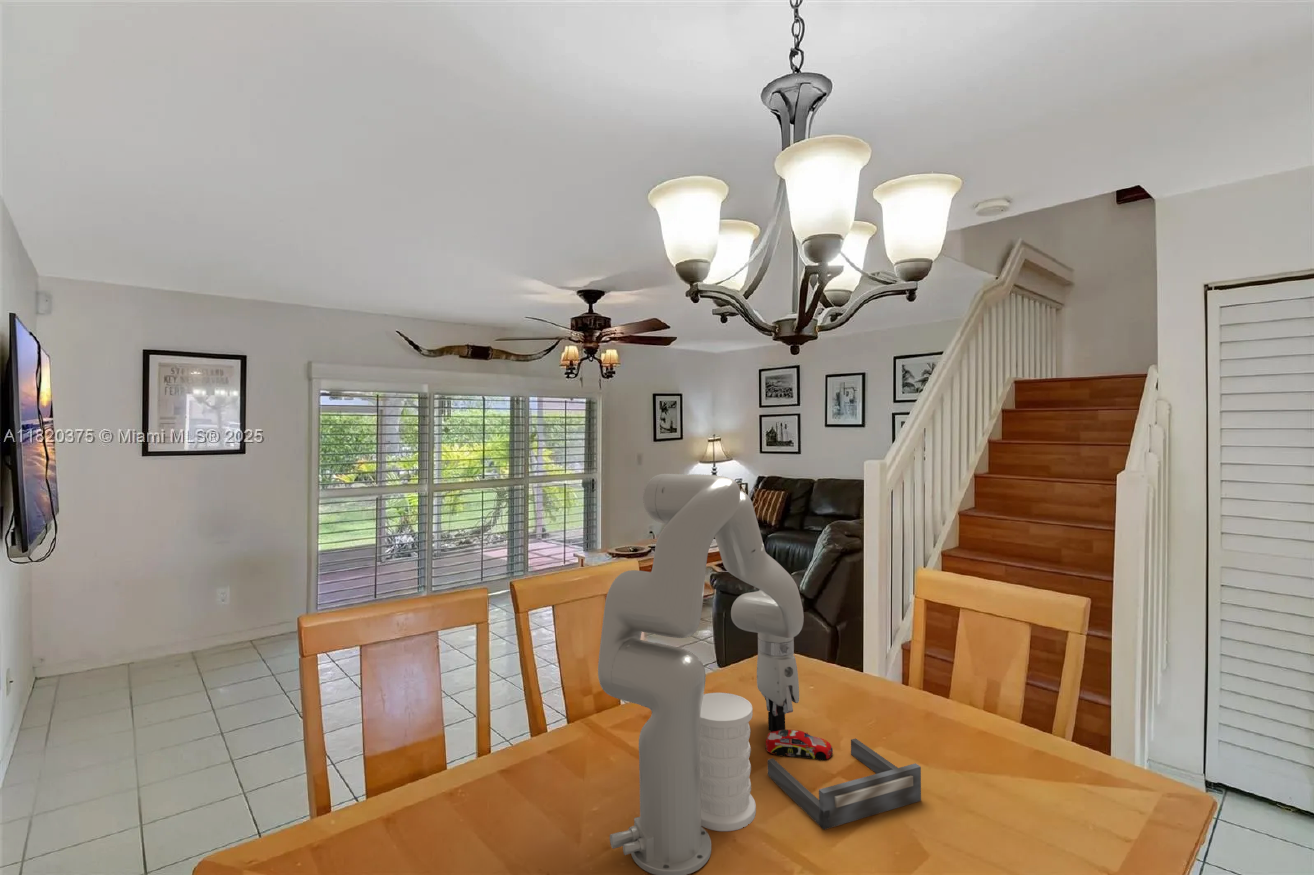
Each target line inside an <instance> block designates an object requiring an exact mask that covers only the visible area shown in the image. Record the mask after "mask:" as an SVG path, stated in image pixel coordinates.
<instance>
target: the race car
mask: <svg viewBox="0 0 1314 875" xmlns="http://www.w3.org/2000/svg"><path fill="white" fill-rule="evenodd" d="M765 750H766V751H767V752H769V753H770V754H773V755H776V756H777V757H785V756H786V757H791V758H792V757H793V758H795V757H796V758H802V759H803V758H804V759H813V760H814V759H816V760H817V761H825V760H828V759H830V758H831V757H832V756H833V753H834V749H833V746H832V744H831V743H830V742H829V741H828V740H826V739H824V738H822V737H818V736H814V735H810V734H809V733H808V731H806V732H805V731H802V730H798V729H785V730H778V731H773V732H770V731H769V732H768V734H767V736H766V739H765Z"/></svg>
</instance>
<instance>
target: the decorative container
mask: <svg viewBox="0 0 1314 875" xmlns="http://www.w3.org/2000/svg"><path fill="white" fill-rule="evenodd" d="M752 719H753V705H752V703H751V702H750V701H749V700H748V699H746V698H745V697H743V696H741V695H739V694H738V695H737V694H733V693H730V692H727V693H726V692H709V693H708V692H707V693H704V694H703V700H702V707H701V716H700V785H701V827H702V828H704V829H705V828H706V829H707V830H710V831H717V832H731V831H737V830H741V829H744V828H746V827H747V826H749V825H750V824H751V823H752V822H753V821H754V820H755V819H756V813H757V805H756V800H755V799H754V797H753V795H752V794H751V792H752V783H751V778H750V775H751V771H752V765H751V762H750V759H749V758H750V756H751V752H752V748H751V745H750V742H749V739H750V737H751V733H752V732H751V727H750V723H749V722H750V721H751V720H752ZM748 824H749V825H748ZM743 827H744V828H743Z"/></svg>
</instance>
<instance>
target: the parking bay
mask: <svg viewBox="0 0 1314 875" xmlns="http://www.w3.org/2000/svg"><path fill="white" fill-rule="evenodd" d="M850 755H851V756H853V757H854V758H855V759H856V760H858V761H859V762H861V763H862V764H863V765H864V766H866V767H867V768H869V769H870V770H871V771H873V772H874V773H875V774H871V775H867V776H864V777H861V778H855V779H853V780H848V781H846V782H841V783H838V784H834V785H830V786H826V787H822V788H819V789H818V798H817V797H816V796H815V795H814V794H813V793H812V792H811V791H810V790H809V789H808V788H806V787H805V786H804V785H803V784H802V783H801V782H800V781H798V779H796V778H795V777H794V776H793V775H792V774H791V773H790V772H789V771H788V770H786V768H784V767H783V766H782V765H781V764H780V763H779V762H778V761H777V760H776V759H775V758H769V759H767V776H768V777H769V778H770V779H771V781H773V782H774V783H775V784H776V785H777V786H778V787H779V788H780V789H781V790H782V792H784V793H785V794H786V795H787V796H789V798H791V800H793V802H794V803H795V804H797V806H798V807H800V809H802V810H803V811H804V812H805V813H806V814H807V815H808V816H809V817H810V818H811V819H812V821H814V822H815V823H816V824H817V825H818V826H819V827H821V829H822V830H828V829H832V828H834V827H838V826H841V825H845V824H848V823H852V822H855V821H858V820H861V819H864V818H865V819H866V818H867V817H872V816H875V815H878V814H882V813H885V812H887V811H891V810H895V809H898V808H901V807H905V806H908V805H911V804H915V803H919V802H921V801H922V773H921V772H922V767H921V765H919V764H918V763H915V762H914V763H912V764H908V765H905V766H901V767H898V766H896V765H894V763H892V762H891V761H889V760H888V759H886V758H885V757H883V756H881V754H879V753H877V752H876V751H874V749H872V748H870V747H869V746H868V745H866V744H864V743H863V742H862V741H860V740H859V739H857V738H853V739H852V738H851V739H850Z"/></svg>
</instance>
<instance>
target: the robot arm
mask: <svg viewBox="0 0 1314 875" xmlns="http://www.w3.org/2000/svg"><path fill="white" fill-rule="evenodd" d="M642 493H643V494H642V502H643V507H644V510H645V512H646V513H647V515H648V516H649V517H650V518H651V519H653V521H656V522H658V523H661V524H664V527H663V528H662V530H661V532H659V535H658V538H657V539H656V543H655V549H654V555H653V563H652V568H651V571H645V570H638V569H637V570H635V569H633V570H632V569H631V570H626V571H624V572H621V573H620V574H619V575H617V577H616V578H615V579H614V580H613V581H612V583H611V585H610V586H609V588H608V591H607V594H606V598H605V603H604V608H603V615H602V616H603V618H602V626H601V635H600V644H599V652H598V662H597V676H598V682H599V685H600V687H601V689H602V690H603V692H604V693H606V694H607V695H608V696H610V697H613V698H615V699H618V700H622V701H624V702H630V703H631V704H636V705H638V706H639V705H640V706H642V707H643V708H647V709H649V710H650V711H651V716H650V717H649V718H648V720H647V721H646V722H645V724H644V725H643V726H642V727H641V730H640V733H639V738H638V756H639V758H638V760H639V761H638V763H639V764H638V765H639V767H638V770H639V816H637V817H634V818H633V821H634V822H633V824H634V825H632V826H629V827H628V829H627V830H624V831H617V832H614V833H611V834H609V842H610V847H611V849H614V850H615V849H616V848H620V847H622V851H623V855H624V856H626V855H630V854H631V858H632V860H633V862H634V863H635V864H636V865H637V866H638V867H639V868H640V869H642V870H644V871H645V872H647V873H649V874H652V875H690V874H692V873H694V872H697V871H699V870H700V869H701V868H702V867H704V866H705V865H706V863H707V862H708V860H710V857H711V854H712V839H711V837H710V834H709V833H708V831H707V830H706V829H705V828H704V827H702V826H701V785H700V716H701V707H702V700H703V694H705V687H706V679H707V678H706V676H707V675H706V669H705V666H704V664H703V662H702V660H701V658H699V657H698V656H697V655H696V654H695V653H694V652H692V651H689V650H687V649H684V648H681V647H679V646H674V645H669V644H663V643H661V642H660V643H658V642H653V641H648V640H643V639H641V638H642V633H646V634H647V633H648V634H652V635H656V636H662V637H666V638H675V639H686V638H690V637H692V636H694V634H696V633H697V630H698V629H699V627H700V623H701V618H702V612H703V604H704V602H703V601H704V594H705V593H704V592H705V583H706V582H705V581H706V572H707V562H708V555H709V551H710V547H711V545H712V543H713V541H714V539H715V542H716V545H717V548H718V551H719V555H720V558H721V561H722V564H723V568H724V569H725V570H726V571H727V572H728V573H729V574H731V575H732V576H734V577H735V578H737V579H739V580H740V581H742V582H744V583H745V584H748V585H750V586H753V588H756V589H758V590H757V591H752V592H750V591H749V592H746V593H742V594H741V595H739V596H737V598H736V599H735V600H734V601H733V603H732V606H731V610H730V617H731V621H732V623H733V624H734V625H735V626H736V627H737V628H738V629H740V630H743V631H745V632H751V633H757V662H756V688H757V689H758V692H760V694H761V695H762V697H764V699H765V702H766V703H765V704H766V710H767V711H768V712H767V714H768V715H767V725H768V726H767V727H768V728H767V729H768V731H769V732H773V731H778V730H786V715H787V714H790V713H793V712H794V708H793V707H794V706H793V703H794V704H798V703H799V702H800V689H799V688H800V685H799V684H800V683H799V673H798V672H799V671H798V665H797V660H796V655H795V652H794V650H795V642H794V640H795V637H797V636H798V635H799V634H800V632H801V631H802V629H803V627H804V618H805V617H804V608H803V602H802V599H801V596H800V595H801V594H800V591H799V588H798V585H797V583H796V582H795V579H794V578H793V577H792V576H791V574H790V573H789V572H788V571H787V570H786V569H785V568H784V567H783V566H782V565H781V564H780V563H779V562H778V561H777V560H776V559H774V558H773V557H772V556H770V554H768V553H767V552H766V548H765V545H764V542H763V537H762V533H761V530H760V527H759V523H758V522H759V521H758V519H757V515H756V512H755V508H754V504H753V502H752V500H751V498H750V496H749V495H748V493H745V492H744V491H742V490H741V489H740V486H739V484H738V483H737V482H736V481H735V480H734V479H732V478H730V477H726V476H723V475H714V474H701V473H700V474H697V473H696V474H695V473H693V474H692V473H691V474H688V473H687V474H685V473H684V474H682V473H681V474H680V473H660V474H656V475H654V476H653V477H652V478H650V479H649V480H648V481H647V483H646V484H645V486H644V489H643V492H642Z"/></svg>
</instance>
